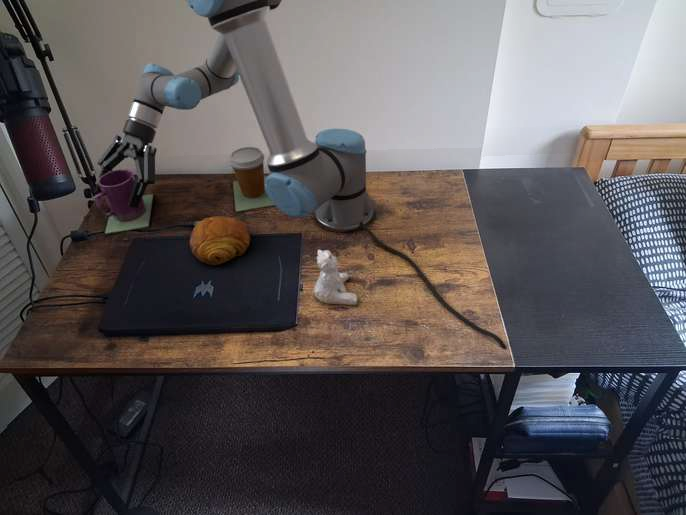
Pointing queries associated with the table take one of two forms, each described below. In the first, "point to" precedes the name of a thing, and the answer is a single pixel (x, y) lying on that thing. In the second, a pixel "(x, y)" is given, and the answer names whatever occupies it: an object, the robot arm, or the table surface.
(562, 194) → the table surface
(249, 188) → the disposable coffee cup
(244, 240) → the croissant
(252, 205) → the cup mat
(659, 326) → the table surface
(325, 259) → the white creature statuette
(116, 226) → the mug mat
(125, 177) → the plum mug
